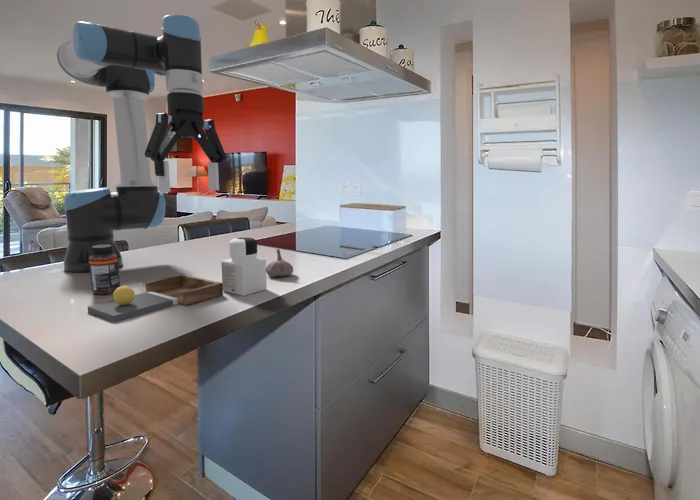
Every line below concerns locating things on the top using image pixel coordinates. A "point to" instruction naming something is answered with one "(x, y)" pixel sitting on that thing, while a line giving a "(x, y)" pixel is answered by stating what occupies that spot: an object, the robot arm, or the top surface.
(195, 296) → the tray
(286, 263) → the garlic bulb
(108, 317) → the grey flat slab
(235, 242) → the container
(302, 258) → the top surface
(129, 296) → the ball
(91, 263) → the supplement bottle
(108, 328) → the top surface
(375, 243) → the top surface
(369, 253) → the top surface
